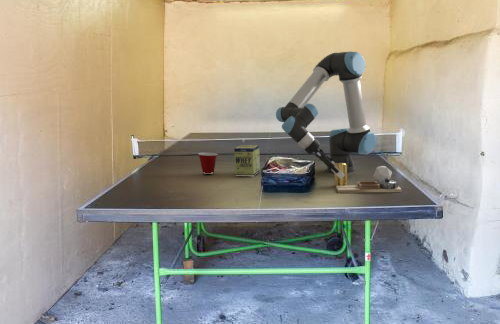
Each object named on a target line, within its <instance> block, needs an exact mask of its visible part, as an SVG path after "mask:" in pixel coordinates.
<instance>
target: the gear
mask: <svg viewBox="0 0 500 324" xmlns="http://www.w3.org/2000/svg"><path fill="white" fill-rule="evenodd" d="M377 183H378V184H379V185H380V189H396V188H397V187H398V186H399V182H398V181H396V180H393V179H391V177H390V178H385V180H381V181H380V180H379V181H377Z"/></svg>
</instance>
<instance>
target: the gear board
mask: <svg viewBox="0 0 500 324" xmlns="http://www.w3.org/2000/svg"><path fill="white" fill-rule="evenodd" d="M377 182H378V181H377V180H369V181H367V180H366V181H364V180H363V181H362V180H361V181H359V180H358V181H357V183H356V184H357V185H347V186H335V187H336V191H337V193H338V194H351V193H352V194H355V193H357V194H358V193H359V194H361V193H362V194H363V193H364V194H365V193H403V191H402V190H403V189H402V188H401V187H400V186H399V185H398V187H397V188H396V189H380V185H379V184H378V183H377Z"/></svg>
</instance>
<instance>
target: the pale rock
mask: <svg viewBox="0 0 500 324" xmlns="http://www.w3.org/2000/svg"><path fill="white" fill-rule="evenodd" d="M392 175H393V172H392V170H391V169H389V168H388V167H387V166H385V165H380V166H376V168H375V171H374V174H373V176H372V177H373V178H374V179H375V181H377V182H378V181H379V180H380V181H381V180H385V178H390V179H391V177H392Z"/></svg>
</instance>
